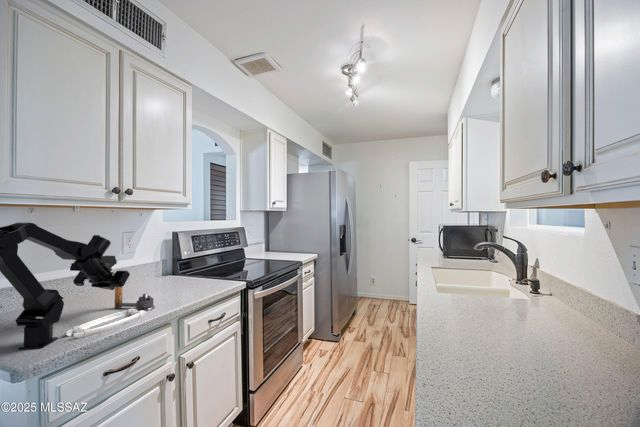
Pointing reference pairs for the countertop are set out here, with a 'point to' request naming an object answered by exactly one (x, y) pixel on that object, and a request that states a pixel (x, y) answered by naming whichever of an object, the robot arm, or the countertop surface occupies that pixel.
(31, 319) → the robot arm
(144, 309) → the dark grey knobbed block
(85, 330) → the door handle
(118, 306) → the l-shaped piece
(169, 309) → the countertop surface
